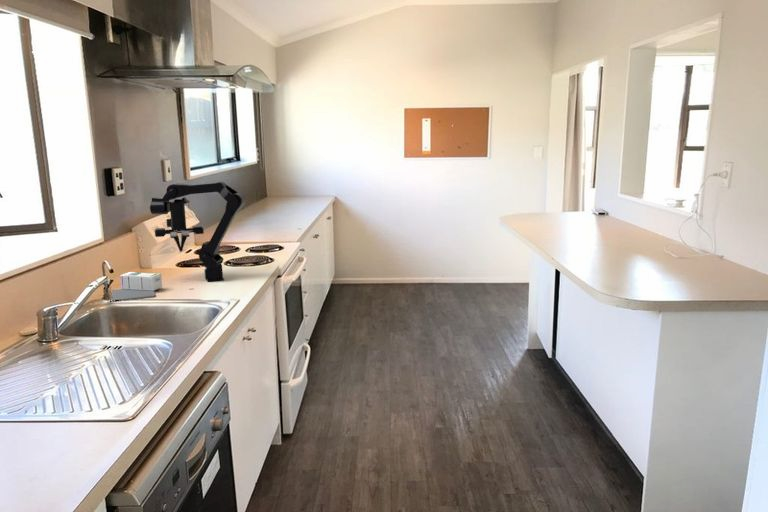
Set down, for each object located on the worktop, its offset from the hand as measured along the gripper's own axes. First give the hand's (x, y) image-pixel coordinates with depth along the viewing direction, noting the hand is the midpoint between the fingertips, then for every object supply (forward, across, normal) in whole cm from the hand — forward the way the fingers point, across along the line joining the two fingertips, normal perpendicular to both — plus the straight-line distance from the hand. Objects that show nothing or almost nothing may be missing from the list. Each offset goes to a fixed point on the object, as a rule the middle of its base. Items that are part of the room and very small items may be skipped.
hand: (180, 251), depth 231 cm
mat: (+12, +20, +16) cm, 28 cm away
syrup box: (+9, +10, +15) cm, 20 cm away
